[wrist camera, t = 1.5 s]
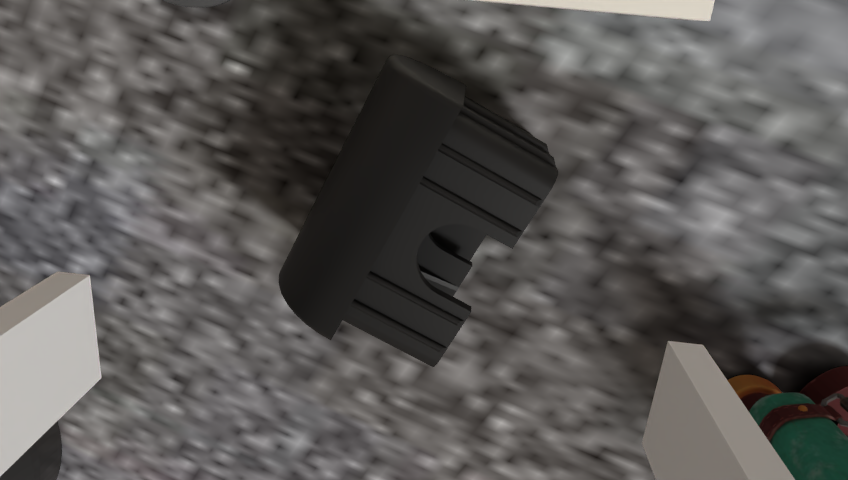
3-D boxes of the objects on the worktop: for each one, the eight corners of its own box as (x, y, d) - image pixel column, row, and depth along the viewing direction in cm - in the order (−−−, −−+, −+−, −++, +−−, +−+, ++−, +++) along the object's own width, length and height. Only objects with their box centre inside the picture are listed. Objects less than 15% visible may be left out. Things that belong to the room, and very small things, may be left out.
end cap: (402, 46, 26) (378, 57, 19) (548, 130, 26) (571, 167, 20) (303, 241, 29) (254, 304, 23) (435, 311, 30) (423, 391, 23)
